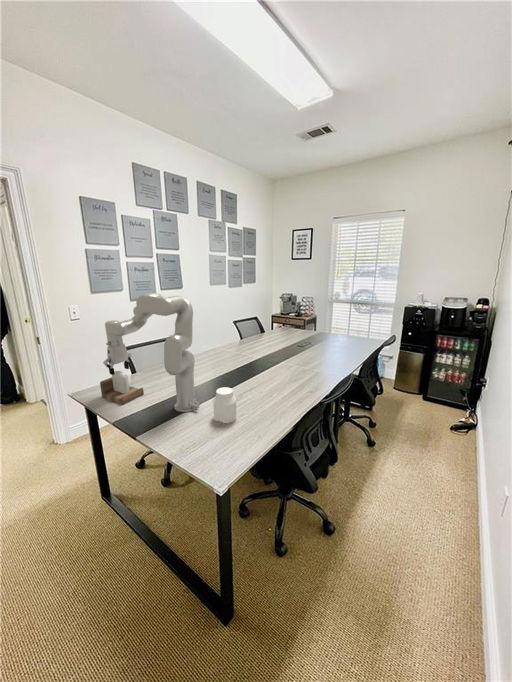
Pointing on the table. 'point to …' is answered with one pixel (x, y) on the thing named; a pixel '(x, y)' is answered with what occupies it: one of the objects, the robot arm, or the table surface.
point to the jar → (224, 405)
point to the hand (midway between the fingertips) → (119, 371)
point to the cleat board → (116, 396)
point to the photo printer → (120, 382)
